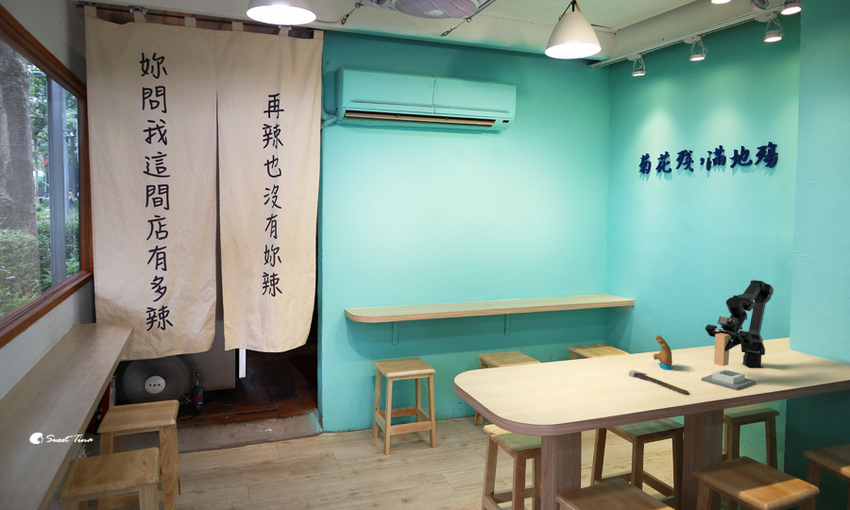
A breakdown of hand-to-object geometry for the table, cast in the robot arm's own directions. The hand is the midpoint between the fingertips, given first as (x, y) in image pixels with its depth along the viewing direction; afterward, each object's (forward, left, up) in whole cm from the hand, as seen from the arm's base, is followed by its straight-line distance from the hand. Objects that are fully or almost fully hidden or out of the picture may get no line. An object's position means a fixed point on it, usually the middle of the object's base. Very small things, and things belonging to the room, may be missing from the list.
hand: (720, 349), depth 244 cm
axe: (+25, +4, -14) cm, 29 cm away
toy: (+16, -20, -14) cm, 29 cm away
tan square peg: (-1, -1, -7) cm, 7 cm away
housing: (-3, +2, -14) cm, 14 cm away
